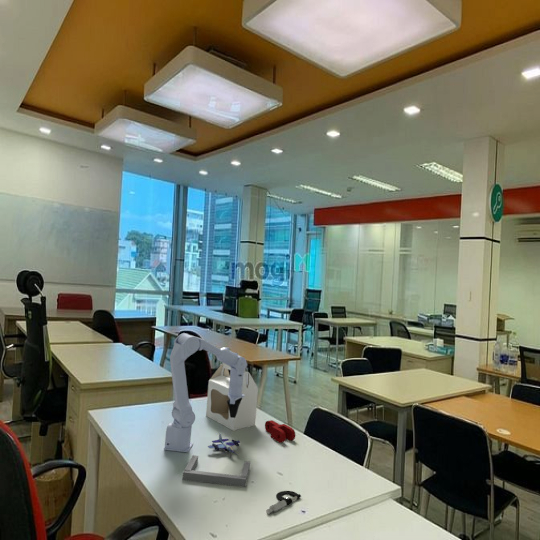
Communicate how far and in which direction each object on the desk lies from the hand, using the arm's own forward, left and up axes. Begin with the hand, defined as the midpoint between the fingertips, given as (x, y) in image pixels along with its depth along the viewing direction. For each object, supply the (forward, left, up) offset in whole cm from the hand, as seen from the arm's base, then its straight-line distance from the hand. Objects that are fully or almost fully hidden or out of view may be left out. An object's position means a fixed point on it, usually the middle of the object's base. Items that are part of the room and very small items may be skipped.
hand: (233, 416), depth 170 cm
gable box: (-4, +21, -10) cm, 23 cm away
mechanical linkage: (+19, +8, -10) cm, 23 cm away
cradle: (0, -31, -9) cm, 33 cm away
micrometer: (+22, -44, -10) cm, 50 cm away
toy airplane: (0, -14, -10) cm, 17 cm away
